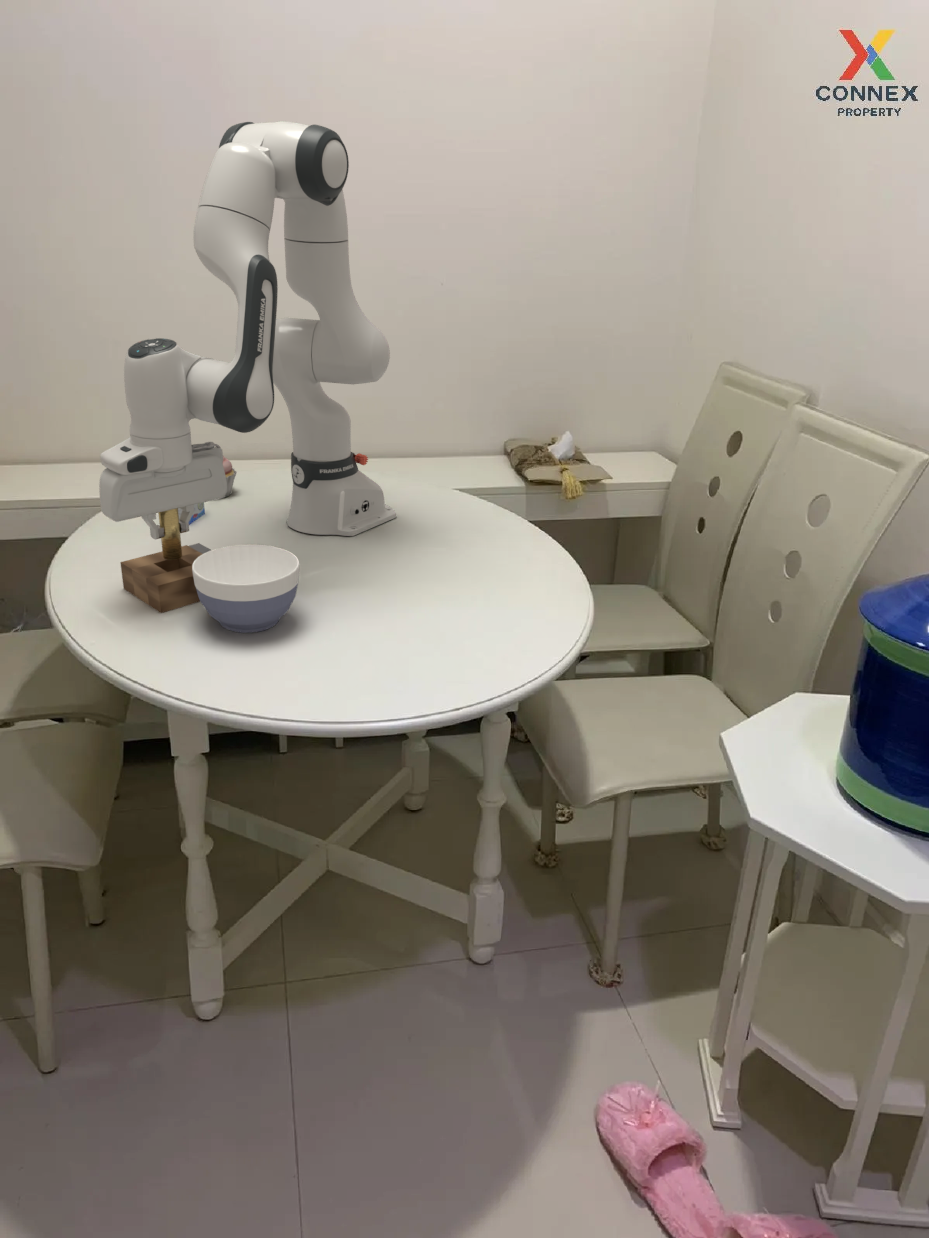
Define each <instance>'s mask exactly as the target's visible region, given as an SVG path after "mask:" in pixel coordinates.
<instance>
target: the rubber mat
mask: <svg viewBox="0 0 929 1238" xmlns="http://www.w3.org/2000/svg"><path fill="white" fill-rule="evenodd" d="M188 546H189V547H191V548H193V549H195V550H196V551H198V552H200V553H202V554H204V553H206V552H208V551H211V550H212V549H211V548H209V547H207V546H205V545H204V544H202V543H200V542H198V543H194V544H190V545H188Z"/></svg>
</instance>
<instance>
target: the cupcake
mask: <svg viewBox="0 0 929 1238" xmlns="http://www.w3.org/2000/svg"><path fill="white" fill-rule="evenodd" d="M222 464H223V467H224V471H225V476H226V482H227V493H226V495H225V496H224V498H225V497H228V496H230V495H231V494H232V492H233V486H234V483H235V478H236V476H237V473H238V471H237V470H235V468H234V467H233V464H232V462H231V461H230V459H228V458H227V457H225V456H224V455H223V463H222Z"/></svg>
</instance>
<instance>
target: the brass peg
mask: <svg viewBox="0 0 929 1238" xmlns="http://www.w3.org/2000/svg"><path fill="white" fill-rule="evenodd" d="M158 522H159V523H158V525H160V526H161V527H163V528H164V537H163V538H160V541H161V542H160V543H161V550H162V551H161V552H162V553H163V558H164V559H166V560H176V559H180V558H181V557H182V547H181V546H182V539H181V533H180V526H179V515H178V508H176V509H172V510H167V511H163V512H159V513H158Z"/></svg>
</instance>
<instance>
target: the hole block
mask: <svg viewBox="0 0 929 1238" xmlns="http://www.w3.org/2000/svg"><path fill="white" fill-rule="evenodd" d="M181 547H182V557H181V558H180V559H176V560H166V559H164V558H163V553H162V551H159V552H158V551H157V552H154V553H151V554H147V555H143V556H138V557H135V558H131V559H128V560H124V561H120V568H121V569H120V570H121V571H120V572H121V577H122V584H123V585H122V586H123V590H124V591H126V592H128V593H129V594H131V595H132V596H133V597H135V598H137V599H139V601H142V602H143V603H144V604H146V605H148V606H149V607H150V608H152V609H153V610H155V611H157V612H158V613H160V614H163V613H167V612H170V611H173V610H177V609H180V608H183V607H186V606H190V605H194V604H197V603H199V602H200V603H201V601H200V600H199V597H198V593H197V590H196V587H195V584H194V578H193V571H192V565H193V563H194V561H195V560H196V559H197V558H198V557H199V556H200V555H202V553H200V552H198V551H196V550H195V549H193V548H191V547H189V545H188V544H185V545H181Z"/></svg>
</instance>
